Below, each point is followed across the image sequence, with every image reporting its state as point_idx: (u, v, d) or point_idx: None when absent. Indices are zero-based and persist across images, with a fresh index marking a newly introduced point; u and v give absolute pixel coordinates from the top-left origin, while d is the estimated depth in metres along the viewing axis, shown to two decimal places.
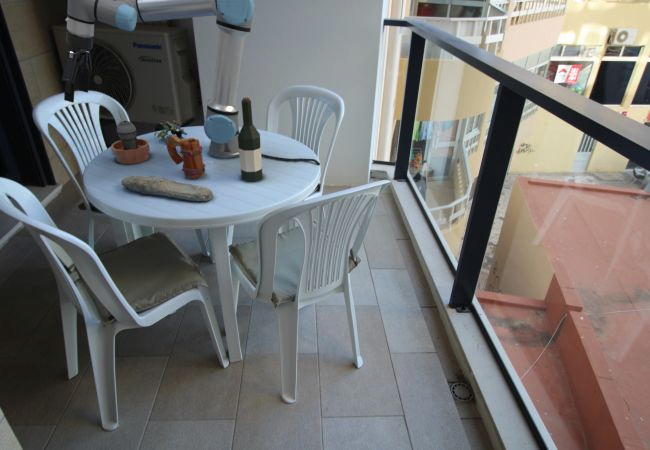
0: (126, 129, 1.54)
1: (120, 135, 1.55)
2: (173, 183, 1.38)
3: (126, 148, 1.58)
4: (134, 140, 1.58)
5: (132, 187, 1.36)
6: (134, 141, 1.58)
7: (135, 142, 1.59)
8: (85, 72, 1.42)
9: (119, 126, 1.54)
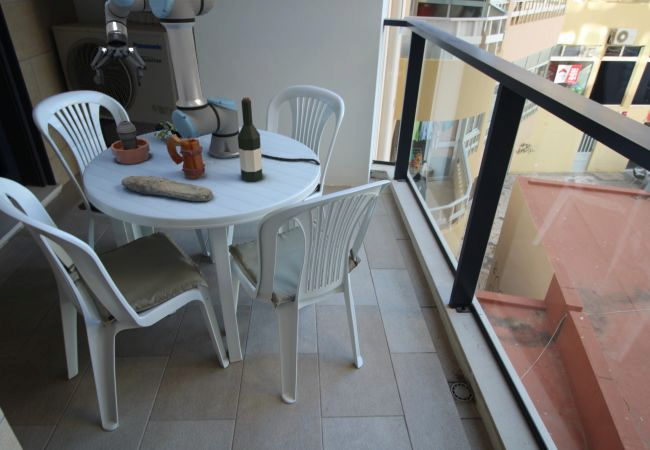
0: (126, 129, 1.54)
1: (120, 135, 1.55)
2: (173, 183, 1.38)
3: (126, 148, 1.58)
4: (134, 140, 1.58)
5: (132, 187, 1.36)
6: (134, 141, 1.58)
7: (135, 142, 1.59)
8: None
9: (119, 126, 1.54)
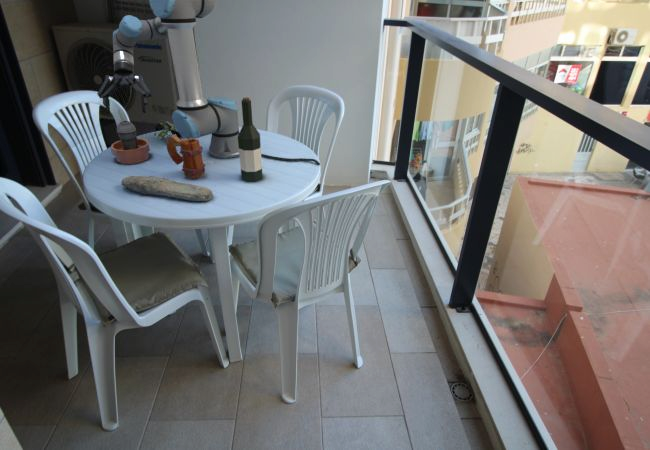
0: (126, 129, 1.54)
1: (120, 135, 1.55)
2: (173, 183, 1.38)
3: (126, 148, 1.58)
4: (134, 140, 1.58)
5: (132, 187, 1.36)
6: (134, 141, 1.58)
7: (135, 142, 1.59)
8: None
9: (119, 126, 1.54)
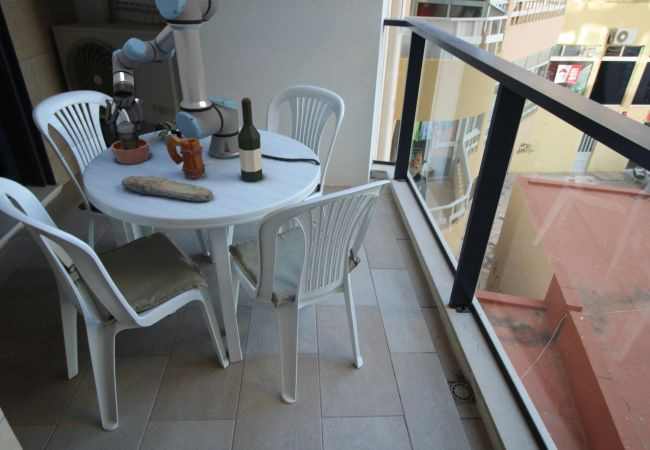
0: (126, 129, 1.54)
1: (120, 135, 1.55)
2: (173, 183, 1.38)
3: (126, 148, 1.58)
4: (134, 140, 1.58)
5: (132, 187, 1.36)
6: (134, 141, 1.58)
7: (135, 142, 1.59)
8: None
9: (119, 126, 1.54)
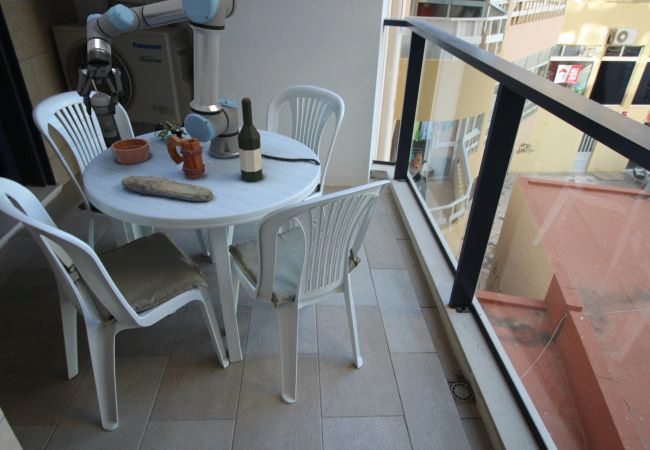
0: (101, 102, 1.38)
1: (94, 108, 1.38)
2: (173, 183, 1.38)
3: (101, 123, 1.42)
4: (111, 114, 1.42)
5: (132, 187, 1.36)
6: (110, 116, 1.42)
7: (112, 117, 1.43)
8: None
9: (93, 98, 1.37)
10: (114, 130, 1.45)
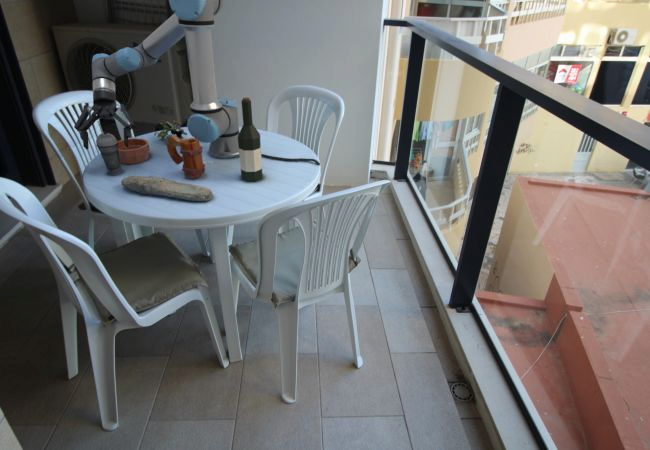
0: (107, 142, 1.42)
1: (100, 148, 1.43)
2: (173, 183, 1.38)
3: (107, 162, 1.46)
4: (116, 153, 1.46)
5: (132, 187, 1.36)
6: (115, 155, 1.46)
7: (117, 156, 1.47)
8: None
9: (99, 139, 1.42)
10: (119, 168, 1.50)
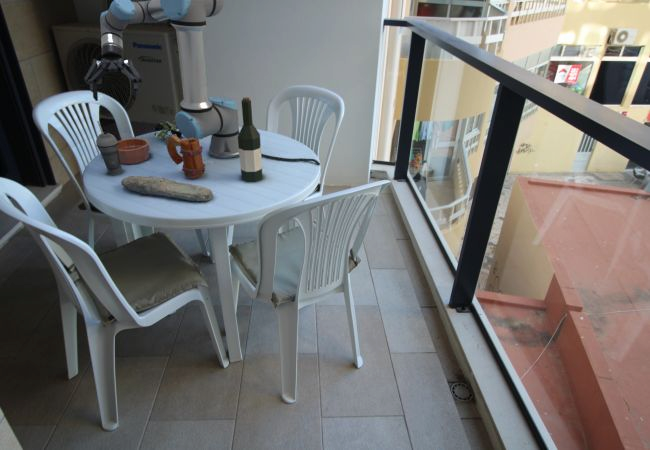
0: (107, 142, 1.42)
1: (100, 148, 1.43)
2: (173, 183, 1.38)
3: (107, 162, 1.46)
4: (116, 153, 1.46)
5: (132, 187, 1.36)
6: (115, 155, 1.46)
7: (117, 156, 1.47)
8: None
9: (99, 139, 1.42)
10: (119, 168, 1.50)
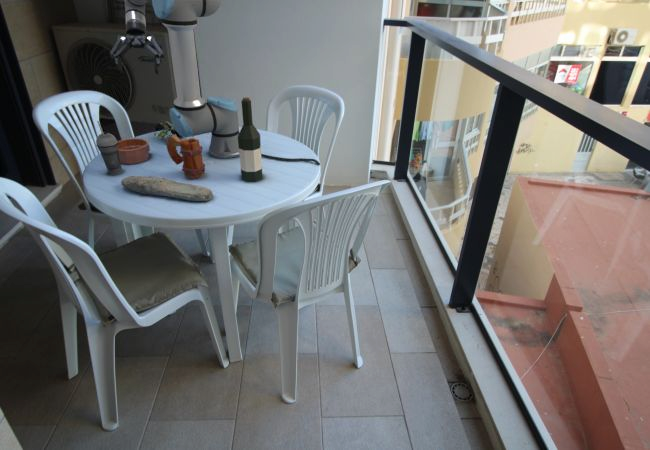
0: (107, 142, 1.42)
1: (100, 148, 1.43)
2: (173, 183, 1.38)
3: (107, 162, 1.46)
4: (116, 153, 1.46)
5: (132, 187, 1.36)
6: (115, 155, 1.46)
7: (117, 156, 1.47)
8: None
9: (99, 139, 1.42)
10: (119, 168, 1.50)
